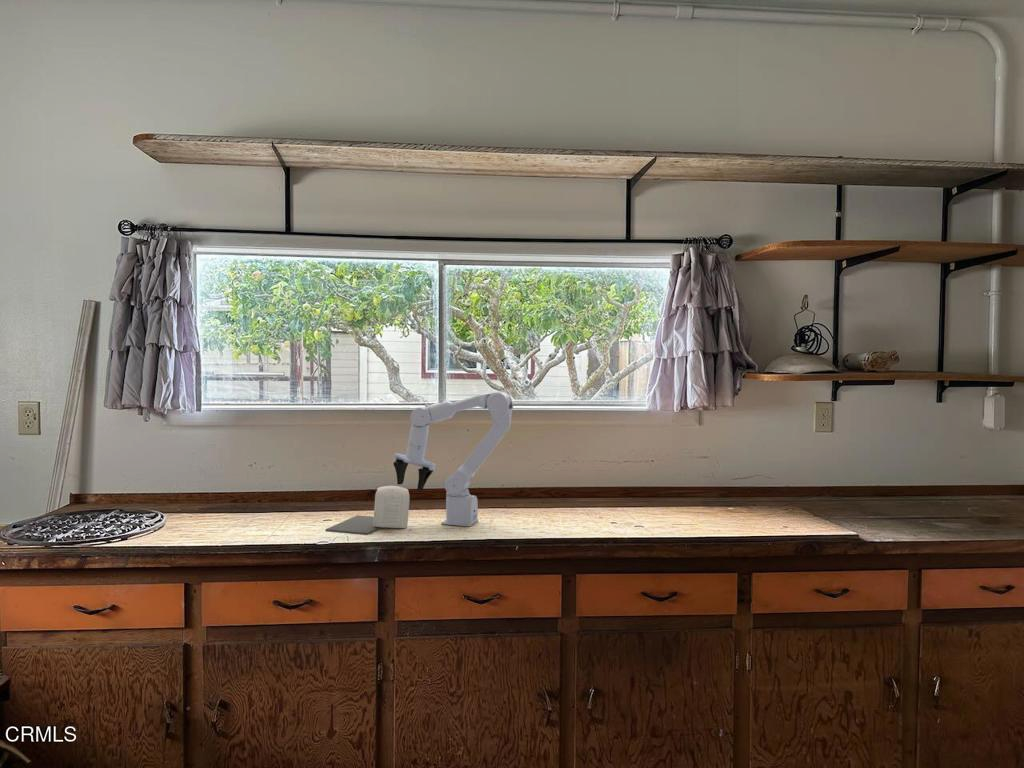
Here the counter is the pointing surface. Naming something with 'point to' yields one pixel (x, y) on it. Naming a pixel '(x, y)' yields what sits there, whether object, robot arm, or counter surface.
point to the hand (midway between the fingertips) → (409, 487)
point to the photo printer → (391, 507)
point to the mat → (355, 525)
